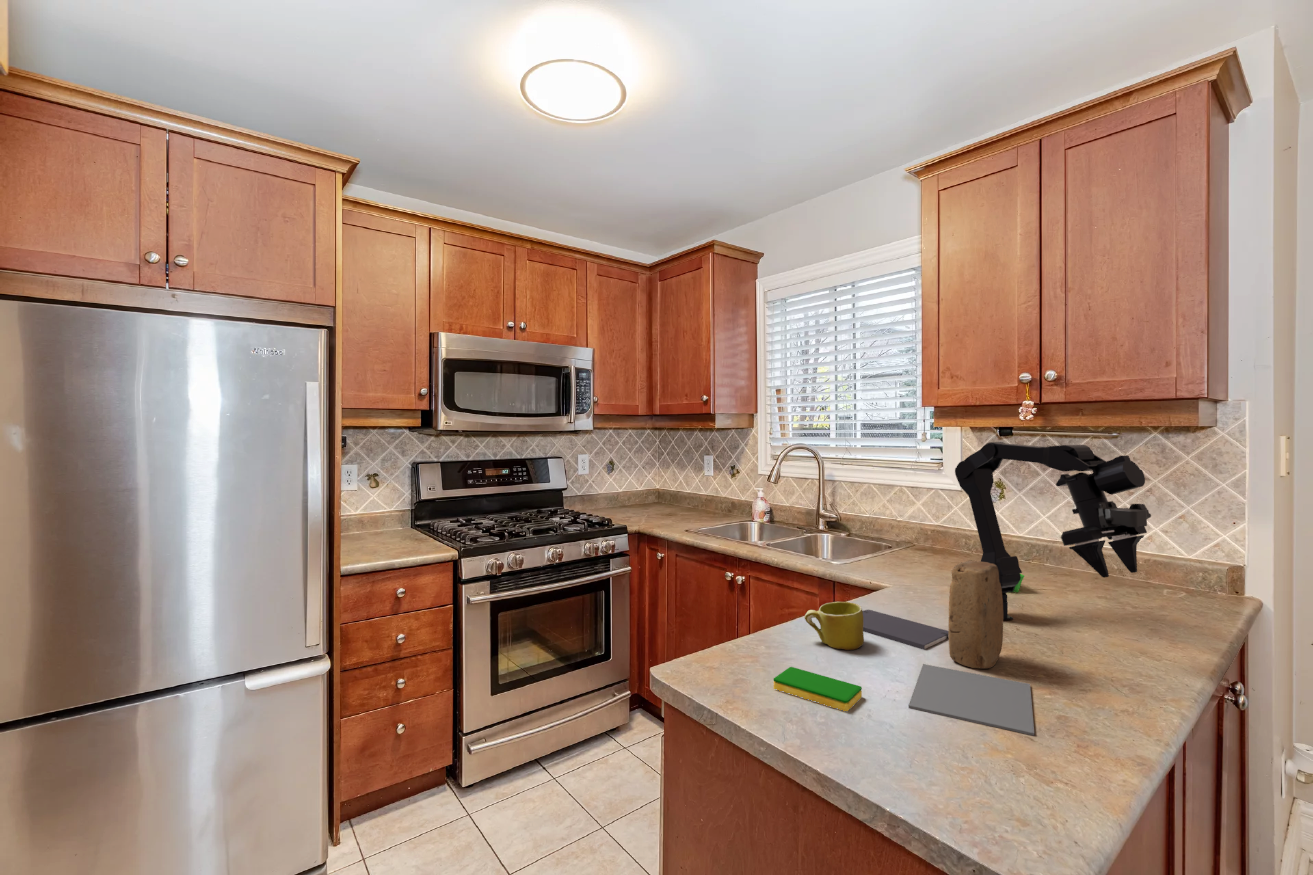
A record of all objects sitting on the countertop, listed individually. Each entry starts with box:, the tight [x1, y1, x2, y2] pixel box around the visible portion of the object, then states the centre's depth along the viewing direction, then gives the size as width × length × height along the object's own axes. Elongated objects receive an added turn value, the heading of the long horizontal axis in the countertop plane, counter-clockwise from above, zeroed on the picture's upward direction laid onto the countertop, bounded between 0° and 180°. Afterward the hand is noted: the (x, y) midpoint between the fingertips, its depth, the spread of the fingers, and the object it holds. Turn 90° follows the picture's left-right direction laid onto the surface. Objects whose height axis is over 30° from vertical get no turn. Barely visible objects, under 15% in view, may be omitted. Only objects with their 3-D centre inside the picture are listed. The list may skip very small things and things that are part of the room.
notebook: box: [862, 609, 949, 651], centre depth 138 cm, size 13×2×21 cm
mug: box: [804, 601, 865, 651], centre depth 130 cm, size 12×10×10 cm
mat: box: [908, 663, 1035, 737], centre depth 105 cm, size 20×18×1 cm
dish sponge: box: [773, 666, 863, 712], centre depth 106 cm, size 7×14×2 cm, turn 51°
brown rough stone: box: [948, 560, 1004, 670], centre depth 120 cm, size 11×8×20 cm
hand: (1120, 574), depth 121 cm, fingers open, 9 cm apart
